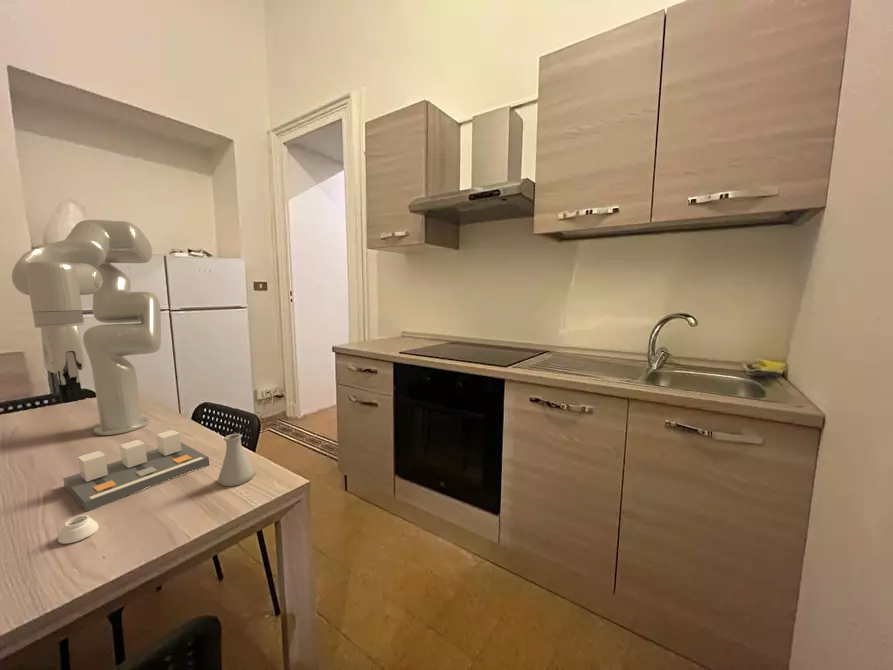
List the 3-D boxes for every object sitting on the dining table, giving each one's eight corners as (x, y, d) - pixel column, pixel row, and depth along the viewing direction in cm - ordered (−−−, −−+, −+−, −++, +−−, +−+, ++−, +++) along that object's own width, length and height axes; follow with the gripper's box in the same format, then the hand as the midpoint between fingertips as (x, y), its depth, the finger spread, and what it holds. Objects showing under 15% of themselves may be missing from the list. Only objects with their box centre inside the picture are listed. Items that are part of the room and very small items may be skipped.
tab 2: (122, 463, 86) (119, 444, 85) (140, 457, 89) (138, 439, 88) (128, 467, 84) (125, 449, 83) (147, 461, 87) (144, 443, 86)
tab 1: (81, 476, 80) (77, 456, 80) (102, 469, 83) (99, 450, 83) (86, 481, 78) (83, 461, 77) (108, 474, 81) (105, 455, 80)
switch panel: (64, 486, 81) (63, 477, 80) (180, 448, 99) (179, 440, 98) (85, 511, 72) (84, 501, 71) (209, 464, 90) (208, 456, 89)
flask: (239, 489, 79) (234, 444, 78) (210, 485, 81) (205, 442, 79) (262, 472, 86) (258, 431, 85) (235, 469, 88) (231, 428, 86)
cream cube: (158, 451, 92) (156, 434, 91) (174, 446, 95) (172, 429, 94) (165, 455, 90) (162, 438, 89) (181, 450, 92) (179, 433, 92)
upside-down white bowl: (68, 530, 66) (52, 549, 62) (65, 515, 66) (49, 533, 61) (103, 523, 68) (91, 540, 64) (101, 508, 68) (88, 524, 63)
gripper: (26, 319, 82) (40, 400, 84) (41, 322, 73) (56, 411, 76) (74, 316, 88) (85, 391, 90) (92, 319, 80) (104, 401, 82)
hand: (72, 400), depth 83 cm, fingers closed
